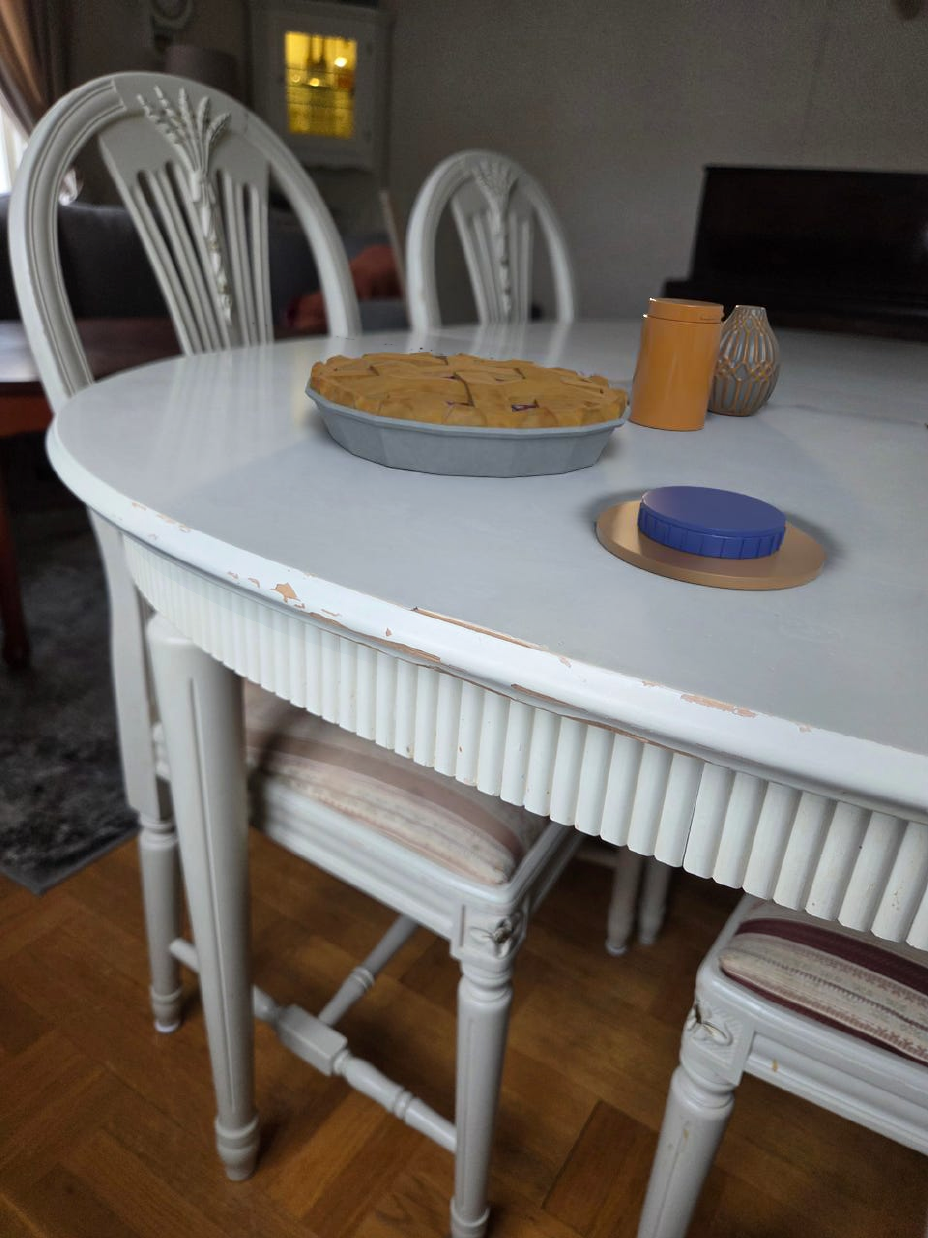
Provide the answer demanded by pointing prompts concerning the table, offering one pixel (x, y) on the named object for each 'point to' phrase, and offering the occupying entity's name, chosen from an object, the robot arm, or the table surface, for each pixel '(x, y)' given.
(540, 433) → the pie
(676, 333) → the jar
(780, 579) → the coaster
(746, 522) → the lid
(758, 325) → the vase
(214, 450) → the table surface
